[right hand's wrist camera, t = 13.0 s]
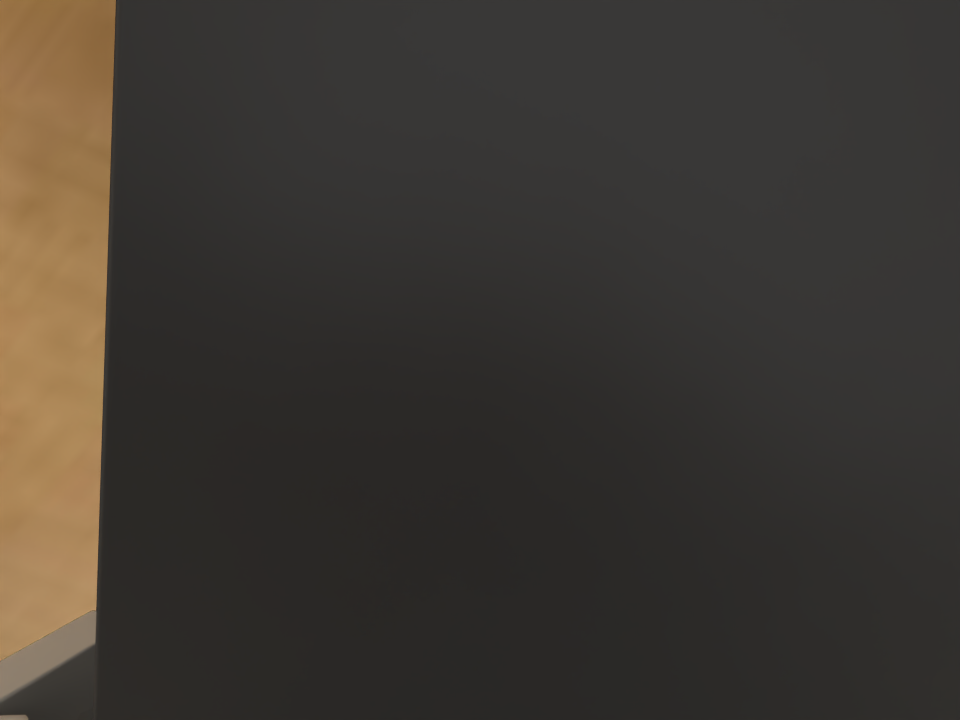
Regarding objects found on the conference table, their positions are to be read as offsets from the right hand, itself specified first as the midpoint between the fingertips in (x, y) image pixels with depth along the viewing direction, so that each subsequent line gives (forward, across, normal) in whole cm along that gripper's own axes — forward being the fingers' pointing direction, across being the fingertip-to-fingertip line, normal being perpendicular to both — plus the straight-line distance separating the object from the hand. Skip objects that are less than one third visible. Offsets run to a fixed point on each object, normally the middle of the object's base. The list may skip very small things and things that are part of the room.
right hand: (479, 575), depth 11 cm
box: (+5, -2, -8) cm, 10 cm away
